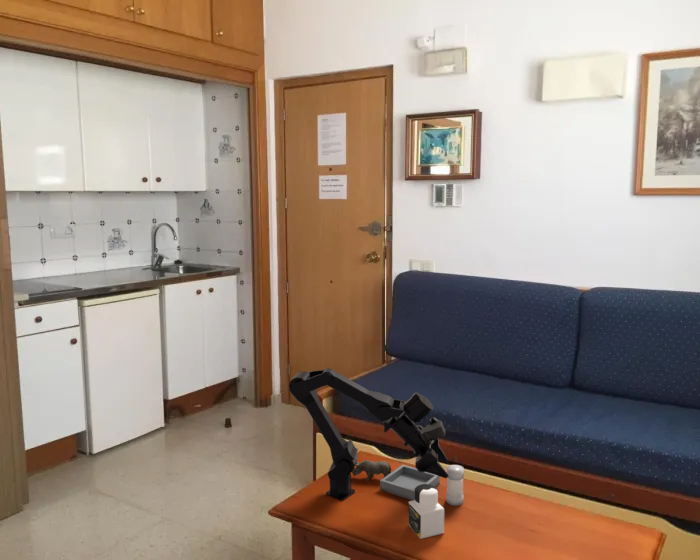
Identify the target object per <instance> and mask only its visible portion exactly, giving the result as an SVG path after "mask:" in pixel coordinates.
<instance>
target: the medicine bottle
mask: <svg viewBox="0 0 700 560" xmlns="http://www.w3.org/2000/svg"><path fill="white" fill-rule="evenodd" d="M438 492H439V489H438V488H437V487H435V486H433V485H429V484H421V485H418V486H417V487H416V488H415V500H410V501H408V527H409V528H410V529H411V530H412V531H413V532H414V533H415V534H416V536H417V537H418V538H419V539H420V540H421V539H426V538H430V537H434V536H438V535H439V536H440V535H442V534H444V533H445V508H444V507H443V506H442V505H441V504H440V503H439V502H438V499H439V496H438V495H439V493H438Z"/></svg>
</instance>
